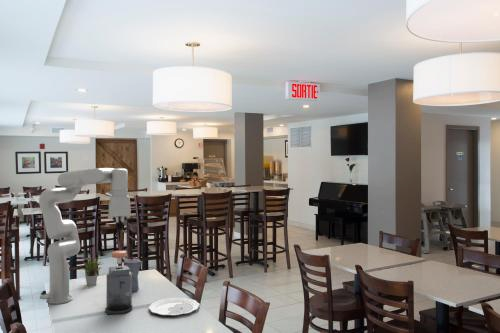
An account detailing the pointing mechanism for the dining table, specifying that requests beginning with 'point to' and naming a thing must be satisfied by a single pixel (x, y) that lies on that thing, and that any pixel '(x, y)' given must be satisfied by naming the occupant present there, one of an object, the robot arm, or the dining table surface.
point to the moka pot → (133, 271)
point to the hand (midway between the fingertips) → (119, 230)
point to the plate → (171, 305)
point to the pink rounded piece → (119, 255)
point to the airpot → (119, 291)
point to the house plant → (91, 272)
